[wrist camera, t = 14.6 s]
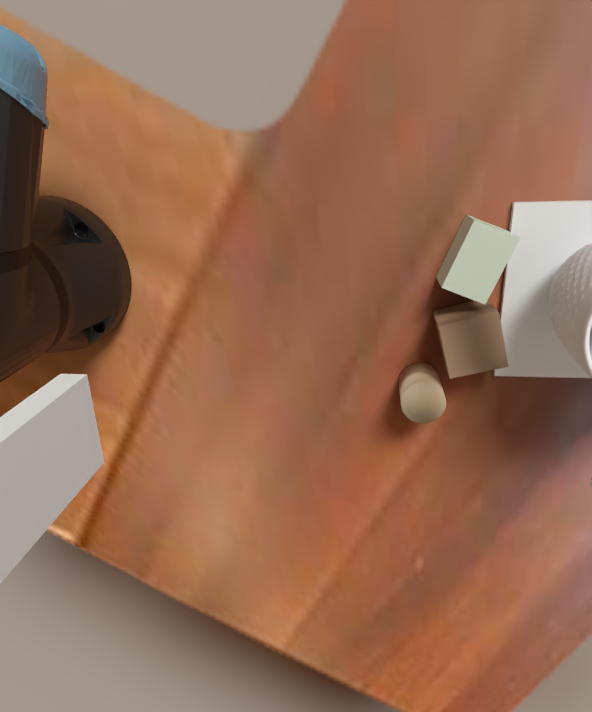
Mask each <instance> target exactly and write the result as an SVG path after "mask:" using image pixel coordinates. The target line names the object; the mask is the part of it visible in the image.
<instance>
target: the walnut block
mask: <svg viewBox="0 0 592 712" xmlns="http://www.w3.org/2000/svg"><path fill="white" fill-rule="evenodd" d="M432 311H433V316H434V320H435V325H436V330H437V334H438V339H439V344H440V348H441V353H442V357H443V361H444V364H445V367H446V369H447V372H448V375H449V378H450V379H452V378H456V377H461V376H466V375H471V374H476V373H481V372H485V371H490V370H495V369H500V368H505V367H508V361H507V355H506V349H505V344H504V338H503V332H502V326H501V320H500V315H499V312H498V311H497V309H496V308H495V307H494V306H493V304H492V303H491V302H490V300H489V299H488V300H487V302H486V304H482V303H480V302H477V301H470V302H466V303H462V304H457V305H453V306H449V307H445V308H441V309H436V310H432Z"/></svg>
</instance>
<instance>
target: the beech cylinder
mask: <svg viewBox="0 0 592 712" xmlns="http://www.w3.org/2000/svg"><path fill="white" fill-rule="evenodd" d="M398 384H399V392H400V401H401V408H402V411H403V413H404V414H405V415H406V417H407V418H409V419H410V420H412V421H414V422H417V423H429V422H432V421H434V420H436V419H438V418H439V417H440V416H441V415H442V414H443V412H444V410H445V408H446V398H445V395H444V391H443V388H442V385H441V382H440V378H439V375H438V373H437V371H436V370H435V369H434V368H433V367H432V366H431V365H429V364H426V363H420V362H419V363H413V364H410V365H408V366H406V367H405V368H404V369H403V370H402V371H401V373H400V375H399V379H398Z"/></svg>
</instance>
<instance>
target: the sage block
mask: <svg viewBox="0 0 592 712" xmlns="http://www.w3.org/2000/svg"><path fill="white" fill-rule="evenodd" d="M519 240H520V237H518V236H516V235H515V234H513V233H511V232H509V231H507V230H505V229H502V228H500V227H497V226H494V225H492V224H489V223H487V222H484V221H482V220H479V219H476V218H474V217H471V216H469V215H466V216H465V218H464V220H463V222H462V224H461V226H460V228H459V230H458V233H457V235H456V237H455V239H454V241H453V243H452V245H451V247H450V249H449V251H448V254H447V256H446V258H445V260H444V262H443V264H442V266H441V268H440V270H439V272H438V274H437V277H436V278H437V280H438V282H439V284H440V286H441V288H443V289H446V290H449V291H451V292H454V293H456V294H459V295H461V296H464V297H467V298H469V299H472V300H474V301H477V302H480V303H482V304H486V302H487V300H488V298H489V296H490V294H491V293H492V291H493V289H494V287H495V285H496V283H497V281H498V279H499V277H500V276H501V274H502V272H503V270H504V268H505V266H506V264H507V262H508V260H509V259H510V257H511V255H512V253H513V251H514V249H515V247H516V245H517V243H518V242H519Z"/></svg>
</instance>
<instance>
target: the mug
mask: <svg viewBox="0 0 592 712" xmlns="http://www.w3.org/2000/svg"><path fill="white" fill-rule="evenodd" d="M549 292H550V293H549V309H550V310H549V313H550V316H551V322H552V323H553V325H554V330H555V331H556V332H557V336H558V338H559V339H560V340H561V343H562V345H563V346H564V347H565V348H566V350H567V352H568V353H569V354H570V355H571V356H572V358H573V360H575V361H576V362H577V363H578V364H579V366H580V367H581V368H582V369H583V370H584V371H585V372H586V374H587V375H588V376H590V377H591V378H592V243H591V244H588V245H585V246H584V247H583V248H581V249H579V250H578V251H576V252H575V253H574V254H573V255H571V256H570V257H569V258H568V259H567V260H566V261H565V262H564V263H563V264H562V265H561V267H560V268H559V270H558V271H557V272H556V275H555V277H554V279H553V281H552V285H551V287H550V291H549Z"/></svg>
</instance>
